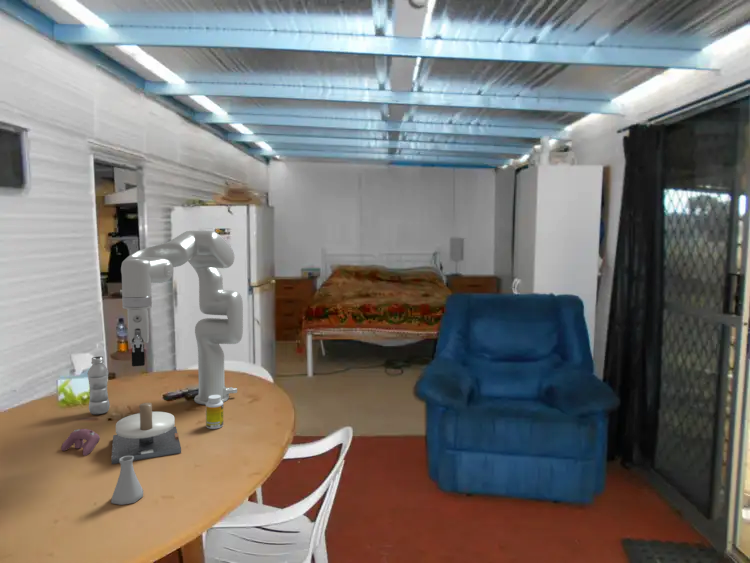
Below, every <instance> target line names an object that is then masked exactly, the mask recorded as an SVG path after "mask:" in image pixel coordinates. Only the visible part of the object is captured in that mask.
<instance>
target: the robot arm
mask: <svg viewBox="0 0 750 563" xmlns="http://www.w3.org/2000/svg"><path fill="white" fill-rule="evenodd" d="M234 252H235V251H234V250H233V248H232V246H231V245H230V244H229V243H228V242H227V241H226V240H225V239H224V238H223V237H222V236H221V235H220V234H219V233H217V232H215V231H212V230H187V231H185V232H182V233H181V234H179V235H177V236H176V237H174V238H173V239H171V240H169V241H168V242H164V243H163V242H162V243H160V244H156V245H153V246H149V247H146V248H142V249H139V250H137V251H135V252H133V253H132V254H130V255H128V256H127V257H126V258H125V259H124V260H123V261H122V262H121V267H120V273H121V295H122V298H121V302H122V309H124V310H126V311H127V313H126V314H127V328H128V329H127V332H128V339H129V343H130V344H131V348H132V350H131V366H132V367H143V366H145V358H146V357H145V356H146V355H145V344H144V343H146V344H148V343H149V340H150V338H149V337H150V336H149V335H150V329H149V328H150V327H149V320H150V318H149V309H151V308H153V307H152V305H153V304H152V303H153V302H152V298H153V297H152V295H153V294H152V284H154V283H155V284H156V283H157V284H162V283H165V282H167V281H169V280H170V279H171V278H172V276H173V274H174V268H176V267H181V266H184V265H185V264H186V263H187V262H188V263H189V264H190V266H191V267H193V269H194V270H195V272H196V274H197V277H198V294H199V295H198V302H199V303H198V304H199V310H200V312H201V313H202V314H204V315H207V316H226V317H227V318H220V317H215V318H213V317H207V318H202V319H199V320H198V322H196V324H195V326H194V335H195V339H196V340H195V341H196V344H197V346H196V347H197V356H198V357H197V358H198V359H197V364H198V365H197V366H198V372H197V373H198V394H197V395H195V396H194V399H193V400H194V402H195V403H196V404H199V405H206V403H207V402H208V397H209V396H211V395H220V396H221V401H222V402H223V403H224V402H227V401H228V400H229V398H230V394H237V393H238V388H237V387H233V386H230V387H226V385H225V352H224V350H223V348H222V346H221V345H237V344H238V343H240V342H241V341H242V338H243V331H244V330H243V329H244V322H243V321H244V319H243V318H244V303H243V297H242V294H241V293H239V292H238V291H236V290H229V289H228V290H227V289H224V285H223V275H222V273H221V271H220V269H227V268H230V267H231V266H233V264H234V262H235V253H234Z"/></svg>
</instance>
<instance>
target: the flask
mask: <svg viewBox="0 0 750 563" xmlns="http://www.w3.org/2000/svg"><path fill="white" fill-rule="evenodd" d="M133 459H134V456H123V457H121V458H120V459H119V463H118V464H120V471H119V474H118V479H117V482H116V485H115V488H114V491H113V493H112V495H111V501H110V503H111V504H114V505H120V506H121V505H124V506H125V505H128V504H129V505H130V504H134V503H136V502H137V501H139V500H140V499H141V498H143V497H144V488H143V487H142V485H141V483H140V481H139V479H138V476H137V475H136V472H135V470H134V469H135V468H134V465H133V464H134V463H133V462H134V461H133Z"/></svg>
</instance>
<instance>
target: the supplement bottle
mask: <svg viewBox="0 0 750 563" xmlns="http://www.w3.org/2000/svg"><path fill="white" fill-rule="evenodd" d="M223 426H224V402H222V401H221V396H220V395H211V396H209V397H208V402H207V403H206V404H205V427H206V428H207V429H210V430H216V429H220V428H223Z"/></svg>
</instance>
